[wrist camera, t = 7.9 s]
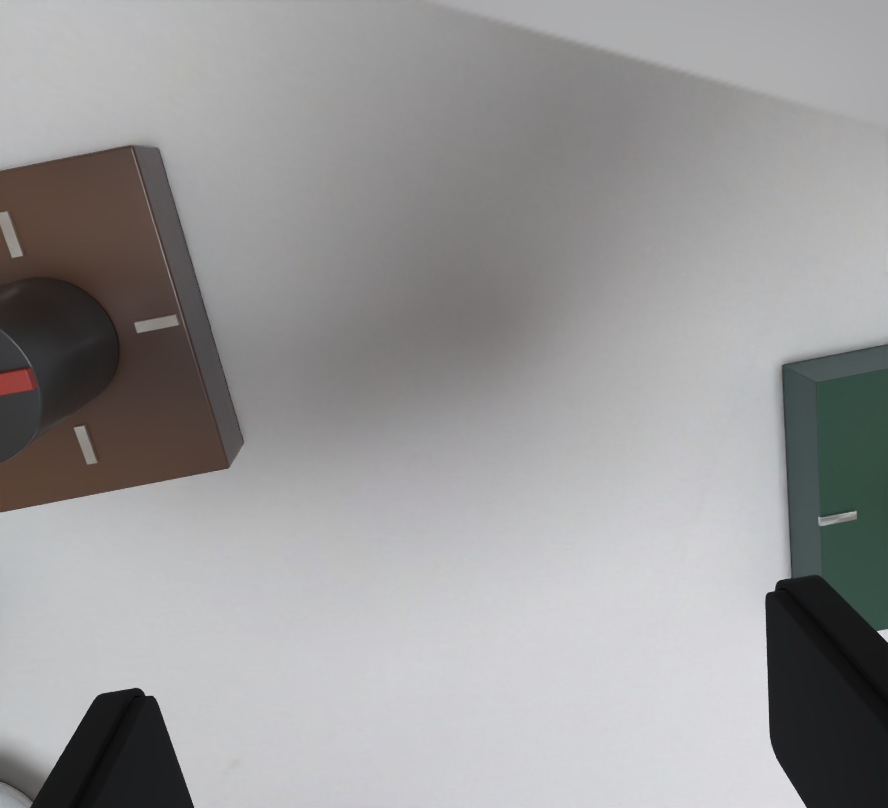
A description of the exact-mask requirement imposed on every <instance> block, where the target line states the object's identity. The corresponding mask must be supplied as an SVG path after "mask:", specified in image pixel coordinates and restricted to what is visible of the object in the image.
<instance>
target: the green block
mask: <svg viewBox="0 0 888 808" xmlns="http://www.w3.org/2000/svg"><path fill="white" fill-rule="evenodd" d="M783 382H784V404H785V425H786V447H787V469H788V491H789V513H790V535H791V557H792V578H797V577H803V576H809V575H819V576H821V577H822V578H823V579H825V580H826V581H827V582H828V583H829V584H830V585H831V586H832V587H833V588H834V589H835V590H836V591H837V592H838V593H839V594H840V595H841V596H842V597H843V598H844V599H845V600H846V601H847V602H848V603H849V604H850V605H851V606H852V607H853V608H854V609H855V610H856V611H857V612H858V613H859V614H860V615H861V616H862V617H863V618H864V619H865V620H866V621H867V622H868V623H869V624H870V625H871V626H872V627H873V628H874V629H875V630H876V631H879V630H885V629H888V345H885V346H880V347H875V348H870V349H865V350H860V351H854V352H849V353H844V354H839V355H834V356H829V357H823V358H818V359H813V360H808V361H803V362H798V363H792V364H787V365H783Z"/></svg>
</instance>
